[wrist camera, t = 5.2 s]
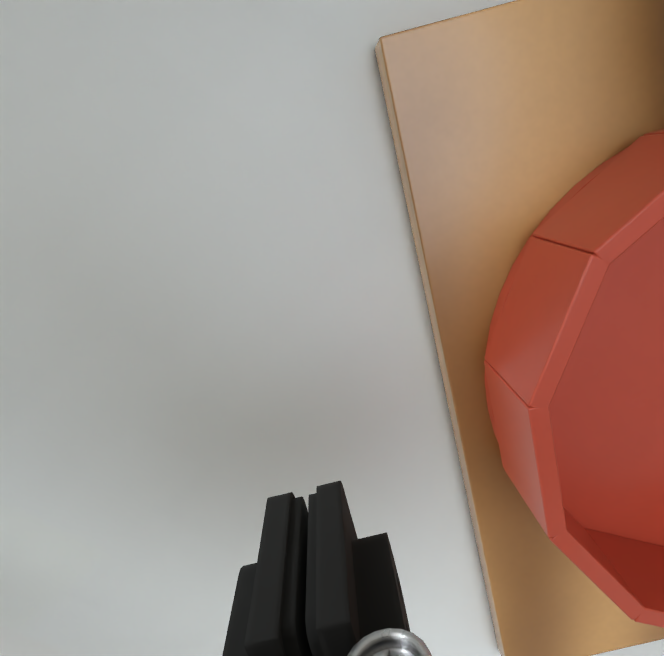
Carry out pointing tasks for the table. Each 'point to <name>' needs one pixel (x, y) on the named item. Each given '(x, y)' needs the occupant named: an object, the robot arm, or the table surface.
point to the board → (514, 243)
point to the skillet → (591, 377)
